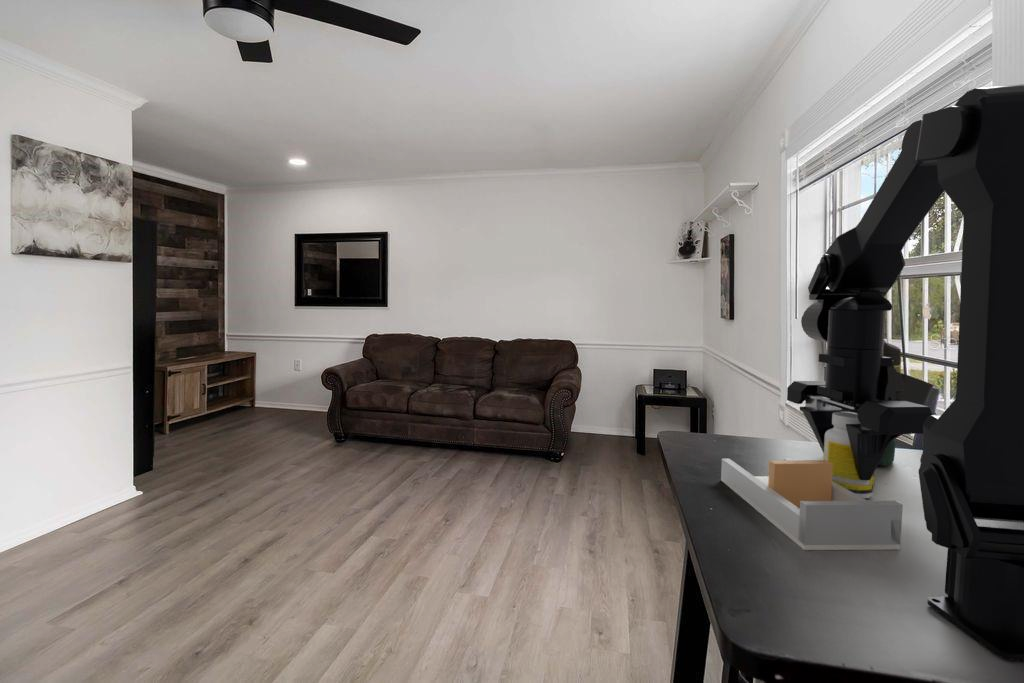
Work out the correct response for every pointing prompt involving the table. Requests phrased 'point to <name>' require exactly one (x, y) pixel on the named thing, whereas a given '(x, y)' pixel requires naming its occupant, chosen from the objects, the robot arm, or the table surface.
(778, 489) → the pusher
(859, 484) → the supplement bottle
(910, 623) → the table surface
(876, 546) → the lane
